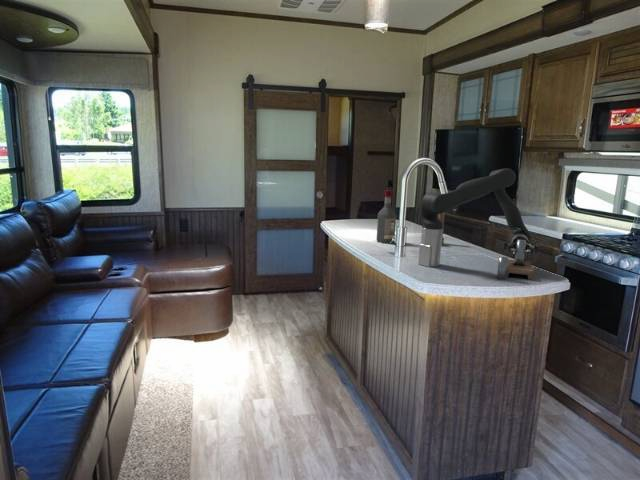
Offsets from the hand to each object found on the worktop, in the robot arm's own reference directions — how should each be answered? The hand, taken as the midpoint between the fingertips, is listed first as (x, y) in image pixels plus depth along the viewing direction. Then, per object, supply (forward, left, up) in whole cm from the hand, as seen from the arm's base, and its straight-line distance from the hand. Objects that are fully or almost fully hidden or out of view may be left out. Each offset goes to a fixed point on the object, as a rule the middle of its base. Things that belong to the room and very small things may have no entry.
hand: (520, 249), depth 194 cm
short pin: (-13, +1, -11) cm, 17 cm away
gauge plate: (+1, +1, -11) cm, 11 cm away
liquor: (+5, +82, -11) cm, 83 cm away
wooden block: (+26, +63, -11) cm, 69 cm away
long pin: (+1, +1, -11) cm, 11 cm away
